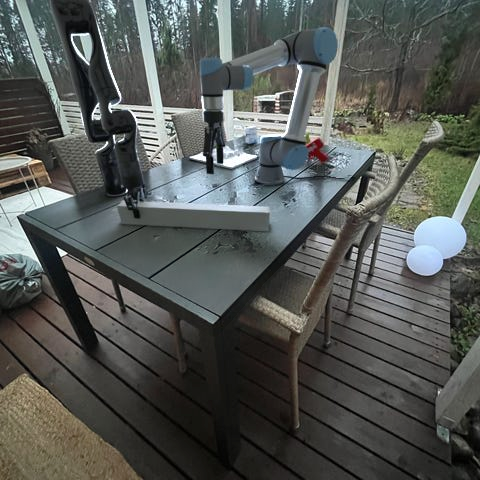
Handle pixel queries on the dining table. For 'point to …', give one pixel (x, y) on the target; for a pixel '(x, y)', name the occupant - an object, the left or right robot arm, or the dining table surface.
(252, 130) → the ink box
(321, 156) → the toy gun
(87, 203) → the dining table surface
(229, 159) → the relief map
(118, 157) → the left robot arm
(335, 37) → the right robot arm
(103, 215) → the dining table surface
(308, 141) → the fruit
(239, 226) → the beam
